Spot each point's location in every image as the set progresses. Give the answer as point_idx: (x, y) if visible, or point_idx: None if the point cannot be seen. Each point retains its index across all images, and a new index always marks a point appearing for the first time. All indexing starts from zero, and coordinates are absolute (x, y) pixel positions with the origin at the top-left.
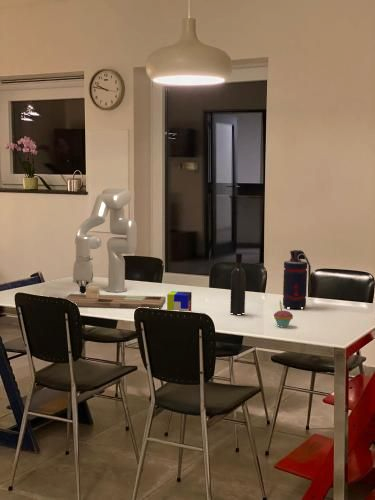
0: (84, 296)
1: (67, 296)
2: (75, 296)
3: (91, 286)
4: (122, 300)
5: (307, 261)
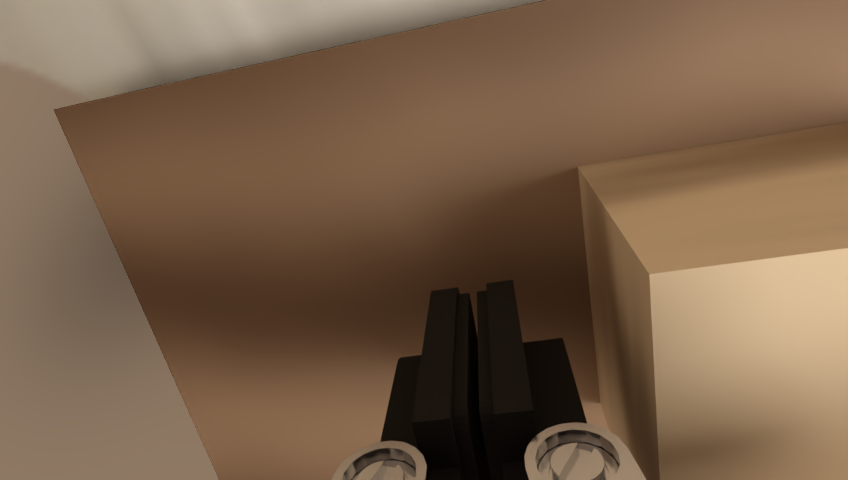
0: (530, 323)
1: (203, 416)
2: (344, 373)
3: (802, 282)
4: None
5: None
